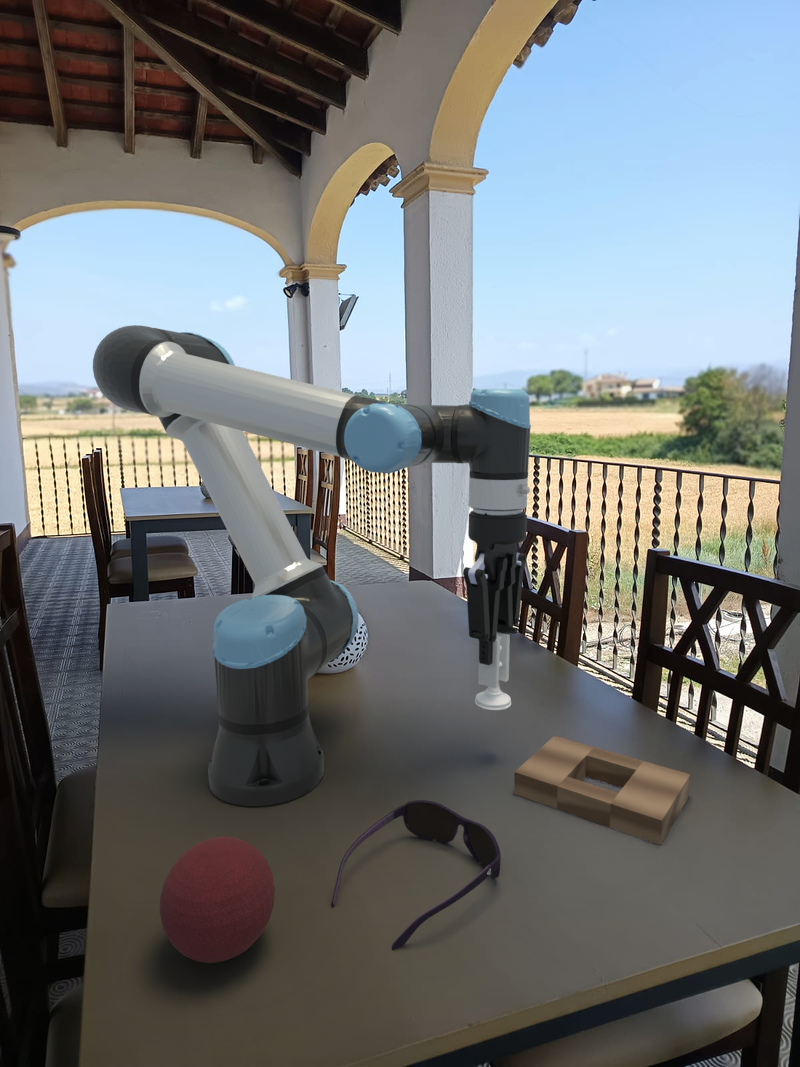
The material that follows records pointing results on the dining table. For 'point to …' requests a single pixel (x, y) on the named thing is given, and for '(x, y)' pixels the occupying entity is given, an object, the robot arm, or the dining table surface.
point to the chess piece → (493, 696)
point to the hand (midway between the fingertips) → (493, 681)
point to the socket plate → (634, 810)
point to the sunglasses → (442, 827)
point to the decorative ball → (217, 899)
